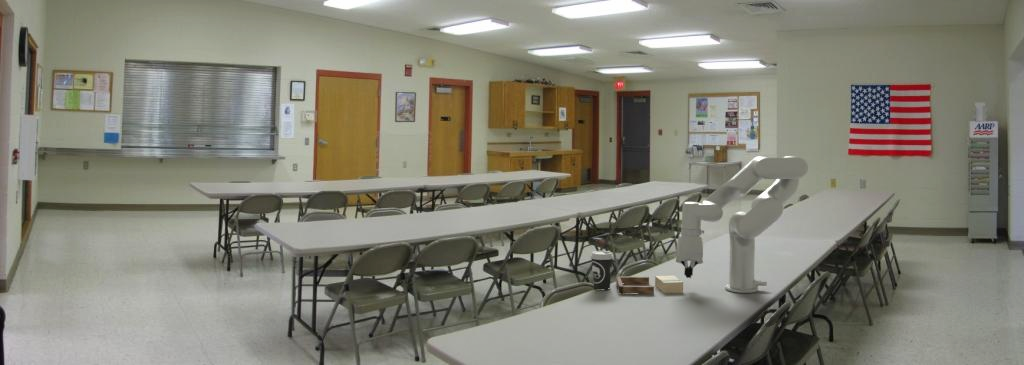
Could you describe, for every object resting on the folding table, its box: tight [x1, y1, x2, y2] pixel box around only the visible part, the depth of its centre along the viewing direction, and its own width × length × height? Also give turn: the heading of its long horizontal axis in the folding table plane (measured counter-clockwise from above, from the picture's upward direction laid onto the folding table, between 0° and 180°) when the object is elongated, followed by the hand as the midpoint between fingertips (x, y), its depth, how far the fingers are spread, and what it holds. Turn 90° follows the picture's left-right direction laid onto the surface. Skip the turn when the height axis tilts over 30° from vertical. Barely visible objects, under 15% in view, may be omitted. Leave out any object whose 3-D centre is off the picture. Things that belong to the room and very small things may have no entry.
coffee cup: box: [589, 250, 614, 291], centre depth 270 cm, size 10×10×15 cm
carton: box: [654, 275, 684, 294], centre depth 268 cm, size 8×12×5 cm
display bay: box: [615, 275, 655, 295], centre depth 269 cm, size 14×18×3 cm
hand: (688, 277), depth 267 cm, fingers closed
